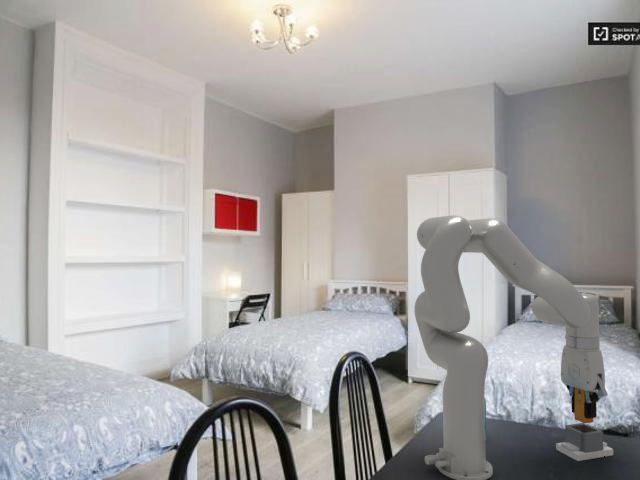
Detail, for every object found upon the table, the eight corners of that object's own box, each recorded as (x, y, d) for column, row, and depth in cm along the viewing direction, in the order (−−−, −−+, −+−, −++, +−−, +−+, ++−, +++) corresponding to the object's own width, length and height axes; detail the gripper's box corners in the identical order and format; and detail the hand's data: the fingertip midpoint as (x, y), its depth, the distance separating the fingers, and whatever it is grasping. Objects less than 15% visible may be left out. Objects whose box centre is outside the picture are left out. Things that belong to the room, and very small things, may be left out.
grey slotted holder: (577, 461, 117) (577, 436, 117) (556, 449, 124) (555, 426, 124) (613, 455, 120) (612, 431, 120) (590, 443, 127) (590, 421, 127)
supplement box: (595, 422, 121) (594, 382, 121) (584, 424, 120) (583, 384, 120) (584, 417, 124) (583, 379, 124) (573, 419, 123) (572, 380, 123)
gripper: (546, 337, 129) (548, 406, 129) (597, 350, 113) (599, 428, 113) (569, 335, 131) (570, 403, 131) (622, 348, 115) (624, 424, 115)
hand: (583, 414), depth 122 cm, fingers closed on supplement box, 3 cm apart
